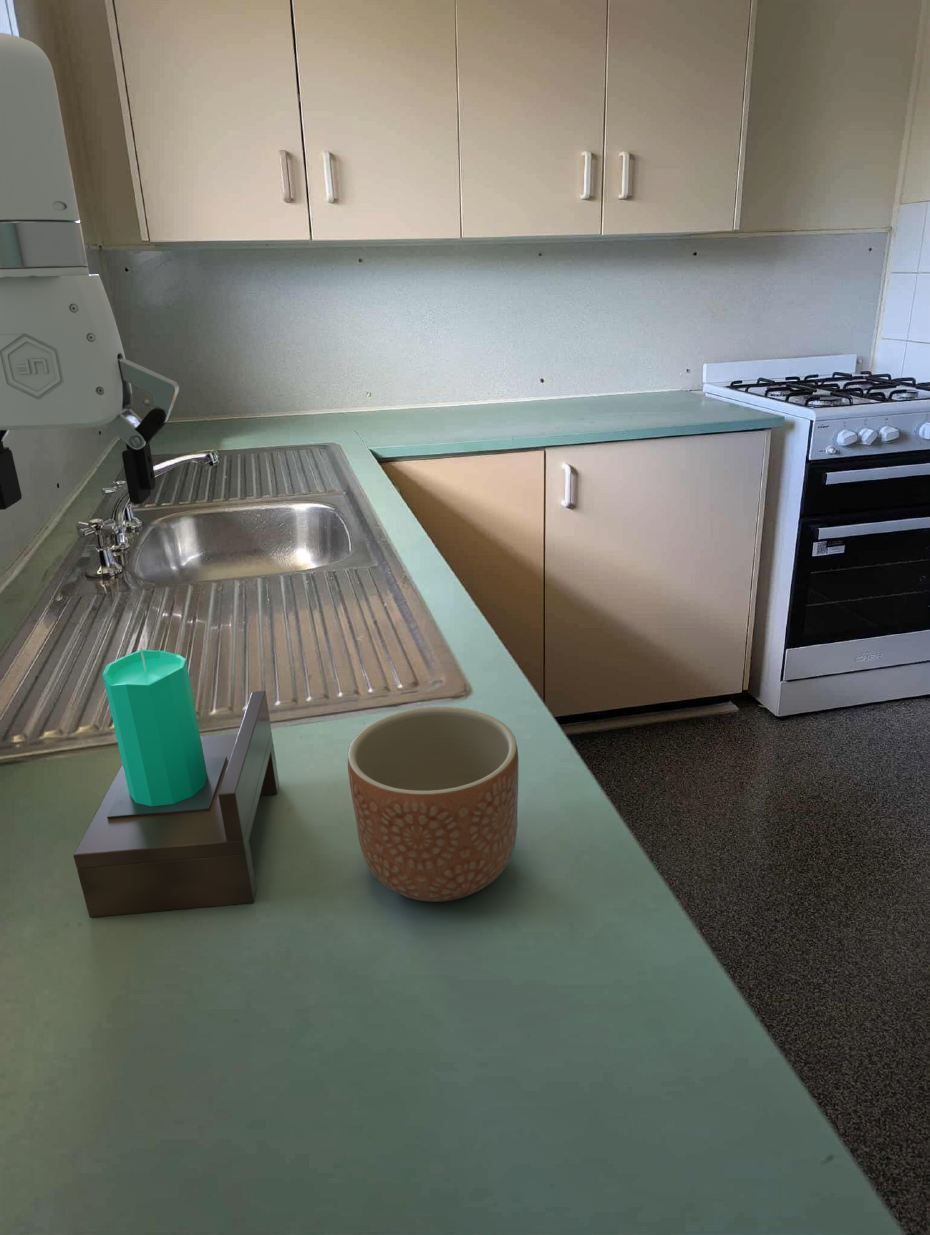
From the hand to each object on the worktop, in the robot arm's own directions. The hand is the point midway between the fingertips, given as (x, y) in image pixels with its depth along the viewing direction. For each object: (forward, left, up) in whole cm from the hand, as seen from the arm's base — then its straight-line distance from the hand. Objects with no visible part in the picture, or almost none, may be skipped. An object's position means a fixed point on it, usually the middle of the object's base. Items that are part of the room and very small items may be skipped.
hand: (75, 502), depth 65 cm
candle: (+4, -5, -22) cm, 23 cm away
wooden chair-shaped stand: (+5, -5, -28) cm, 29 cm away
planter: (+25, -11, -28) cm, 39 cm away
